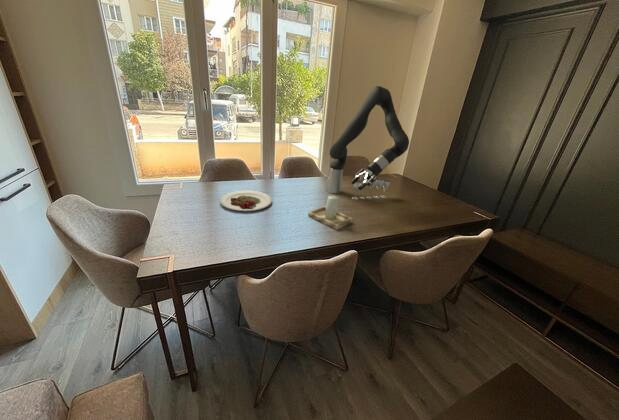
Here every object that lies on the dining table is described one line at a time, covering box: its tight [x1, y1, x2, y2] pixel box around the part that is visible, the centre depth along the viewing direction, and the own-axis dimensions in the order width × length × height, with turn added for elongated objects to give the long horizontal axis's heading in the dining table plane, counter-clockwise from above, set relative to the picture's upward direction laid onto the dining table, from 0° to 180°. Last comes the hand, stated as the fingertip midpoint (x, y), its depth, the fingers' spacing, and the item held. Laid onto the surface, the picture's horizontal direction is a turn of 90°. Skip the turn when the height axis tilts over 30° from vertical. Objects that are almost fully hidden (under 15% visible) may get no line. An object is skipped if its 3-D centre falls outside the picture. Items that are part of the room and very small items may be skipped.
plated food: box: [219, 189, 273, 212], centre depth 151 cm, size 30×30×3 cm
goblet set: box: [351, 177, 391, 201], centre depth 174 cm, size 28×6×13 cm, turn 109°
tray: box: [307, 205, 353, 231], centre depth 140 cm, size 20×14×2 cm
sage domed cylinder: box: [325, 195, 340, 220], centre depth 138 cm, size 6×6×12 cm
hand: (355, 186), depth 137 cm, fingers open, 8 cm apart
